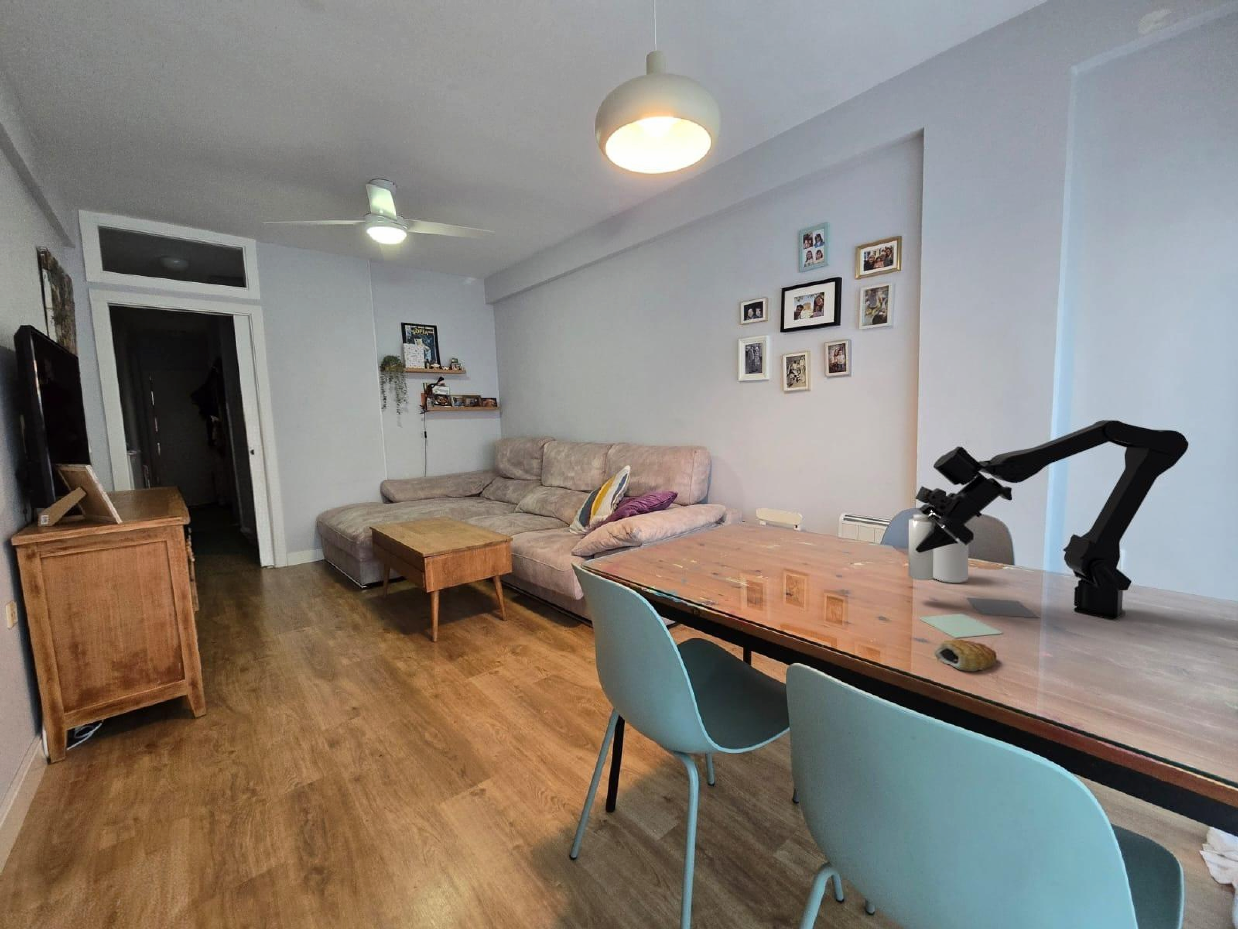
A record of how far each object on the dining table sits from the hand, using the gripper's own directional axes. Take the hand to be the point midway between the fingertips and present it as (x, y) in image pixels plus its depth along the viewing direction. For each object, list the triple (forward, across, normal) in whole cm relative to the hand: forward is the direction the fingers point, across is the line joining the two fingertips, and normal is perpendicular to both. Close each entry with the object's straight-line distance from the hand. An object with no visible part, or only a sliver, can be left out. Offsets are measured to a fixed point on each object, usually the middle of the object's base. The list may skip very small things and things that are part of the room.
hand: (913, 548), depth 114 cm
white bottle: (+4, 0, +6) cm, 7 cm away
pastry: (+9, +29, +10) cm, 32 cm away
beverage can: (0, -19, +18) cm, 26 cm away
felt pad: (-3, 0, +21) cm, 21 cm away
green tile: (+5, +13, +12) cm, 19 cm away
